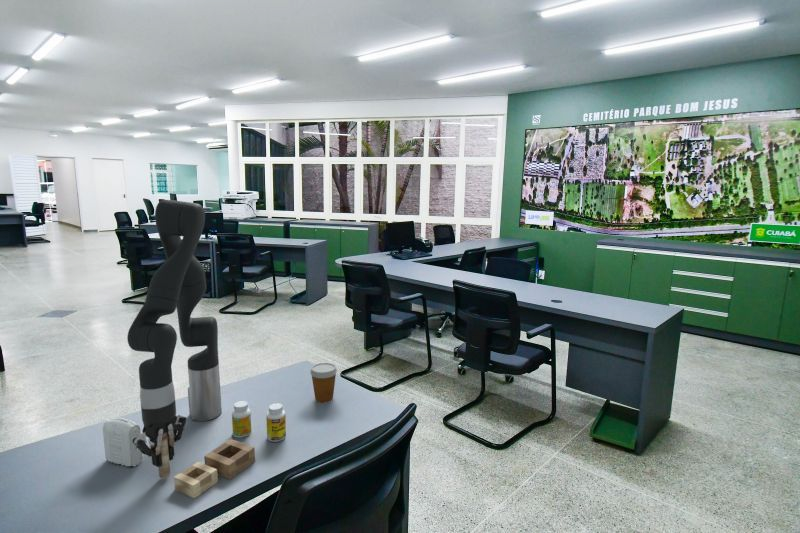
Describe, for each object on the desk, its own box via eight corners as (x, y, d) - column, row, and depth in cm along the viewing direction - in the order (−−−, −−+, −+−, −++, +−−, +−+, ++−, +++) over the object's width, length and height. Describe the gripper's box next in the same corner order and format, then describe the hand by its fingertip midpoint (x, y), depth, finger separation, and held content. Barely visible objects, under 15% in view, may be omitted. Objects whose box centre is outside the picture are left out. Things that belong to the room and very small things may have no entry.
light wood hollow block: (175, 489, 109) (173, 477, 108) (198, 473, 115) (197, 461, 114) (194, 498, 106) (193, 485, 105) (217, 481, 112) (217, 469, 111)
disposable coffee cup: (335, 405, 152) (334, 373, 150) (308, 405, 152) (307, 372, 150) (339, 393, 161) (339, 362, 159) (313, 392, 162) (313, 361, 160)
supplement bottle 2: (270, 444, 128) (269, 412, 126) (264, 436, 133) (263, 404, 131) (288, 439, 131) (287, 407, 130) (282, 430, 136) (281, 400, 134)
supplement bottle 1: (231, 438, 131) (229, 408, 129) (235, 429, 136) (233, 400, 135) (249, 437, 132) (248, 407, 130) (252, 428, 137) (251, 399, 135)
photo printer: (145, 460, 120) (142, 418, 118) (132, 469, 116) (127, 426, 114) (117, 453, 123) (113, 412, 121) (103, 461, 119) (98, 420, 117)
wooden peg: (156, 476, 112) (152, 433, 110) (166, 470, 114) (162, 428, 112) (163, 479, 111) (159, 436, 109) (173, 473, 113) (169, 431, 111)
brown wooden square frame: (205, 469, 117) (204, 455, 116) (231, 451, 125) (230, 438, 124) (229, 479, 113) (228, 465, 112) (255, 460, 121) (254, 447, 120)
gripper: (173, 385, 116) (178, 444, 120) (120, 409, 104) (127, 473, 107) (192, 392, 113) (197, 452, 116) (140, 416, 101) (147, 483, 104)
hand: (163, 462), depth 112 cm, fingers closed on wooden peg, 2 cm apart
